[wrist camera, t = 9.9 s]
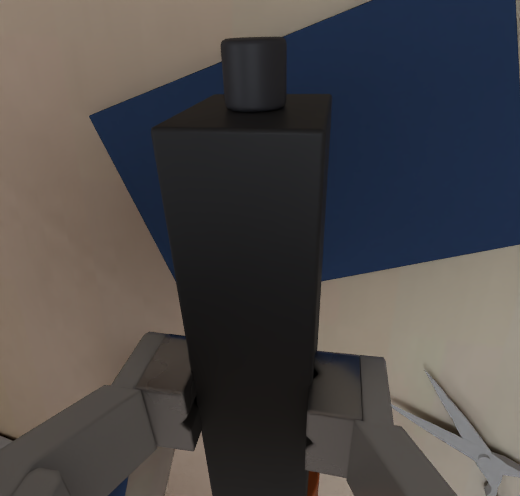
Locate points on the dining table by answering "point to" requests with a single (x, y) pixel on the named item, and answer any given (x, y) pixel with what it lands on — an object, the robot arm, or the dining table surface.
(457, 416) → the scissors
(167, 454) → the beer glass
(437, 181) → the mat
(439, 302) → the dining table surface
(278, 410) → the marker
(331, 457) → the robot arm
